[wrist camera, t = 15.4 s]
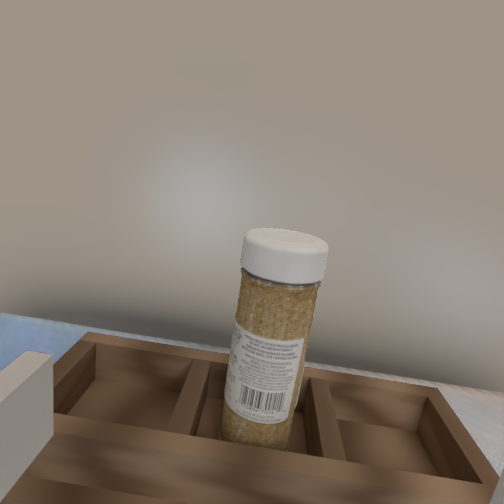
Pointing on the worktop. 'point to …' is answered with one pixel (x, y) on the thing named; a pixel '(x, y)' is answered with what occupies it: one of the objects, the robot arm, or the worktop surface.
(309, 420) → the wooden compartment tray
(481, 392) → the worktop surface
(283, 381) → the spice bottle
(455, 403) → the worktop surface
